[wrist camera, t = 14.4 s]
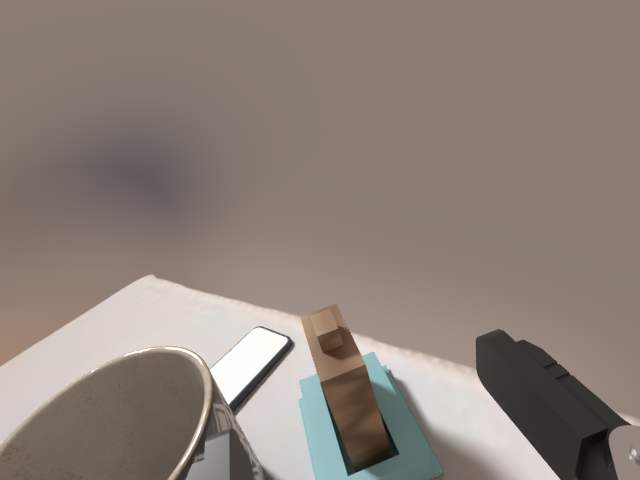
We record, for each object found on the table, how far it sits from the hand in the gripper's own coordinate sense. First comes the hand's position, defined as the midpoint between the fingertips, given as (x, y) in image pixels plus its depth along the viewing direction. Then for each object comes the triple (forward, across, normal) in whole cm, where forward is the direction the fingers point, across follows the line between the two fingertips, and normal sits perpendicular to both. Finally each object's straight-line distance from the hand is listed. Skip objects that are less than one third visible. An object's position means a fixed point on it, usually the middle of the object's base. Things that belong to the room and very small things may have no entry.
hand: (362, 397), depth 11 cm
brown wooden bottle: (+17, -1, +28) cm, 33 cm away
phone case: (+34, +12, +30) cm, 47 cm away
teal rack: (+17, -1, +28) cm, 33 cm away
